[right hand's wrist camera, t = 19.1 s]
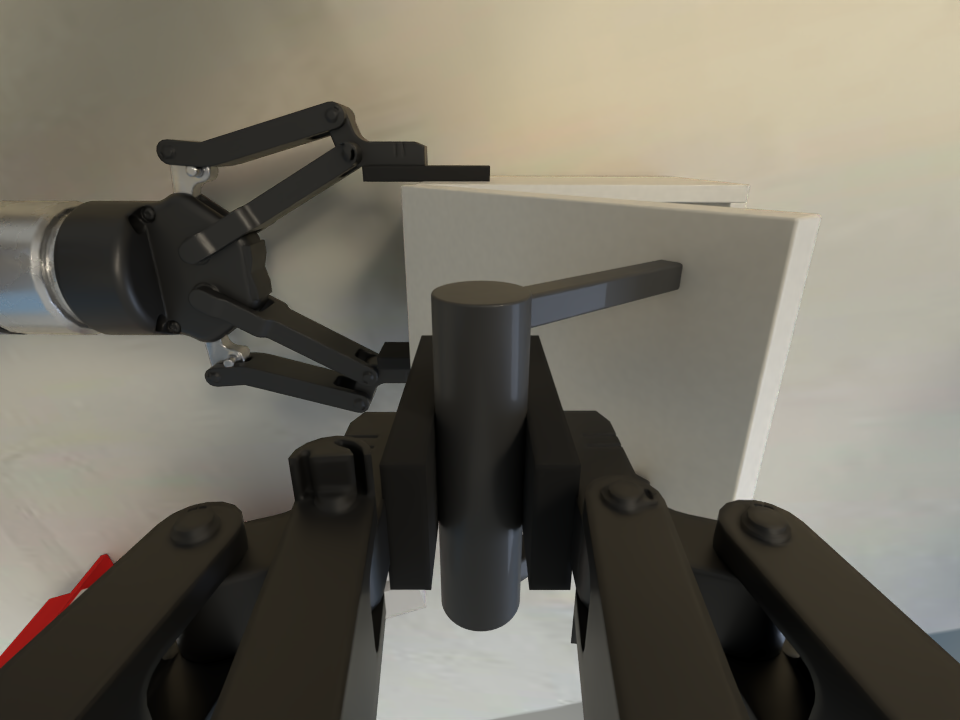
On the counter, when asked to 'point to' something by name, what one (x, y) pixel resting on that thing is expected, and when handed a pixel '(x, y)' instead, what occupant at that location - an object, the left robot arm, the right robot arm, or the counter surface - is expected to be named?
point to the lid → (593, 351)
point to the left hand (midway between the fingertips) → (488, 270)
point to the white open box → (619, 188)
